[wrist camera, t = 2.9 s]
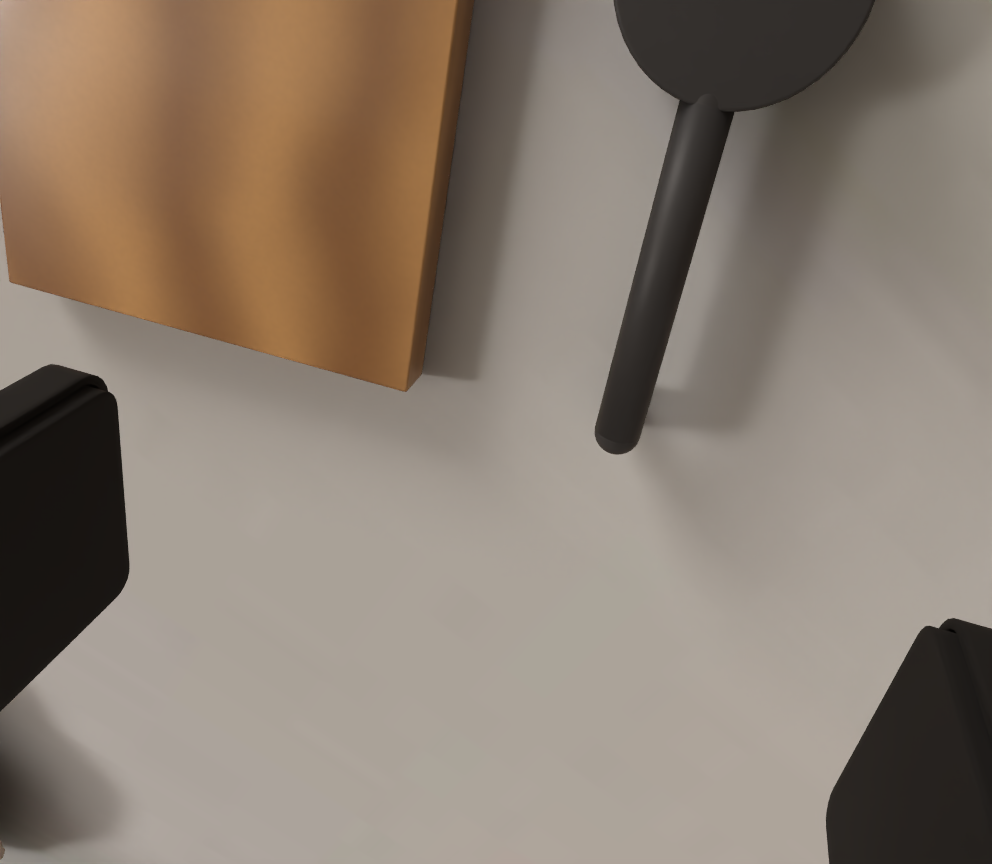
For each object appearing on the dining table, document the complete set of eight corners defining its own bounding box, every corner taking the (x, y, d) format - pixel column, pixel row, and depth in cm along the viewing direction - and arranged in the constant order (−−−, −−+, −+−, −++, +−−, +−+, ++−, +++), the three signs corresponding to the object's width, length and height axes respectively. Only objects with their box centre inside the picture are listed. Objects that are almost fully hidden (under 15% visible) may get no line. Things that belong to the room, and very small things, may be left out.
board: (509, -243, 20) (492, -259, 19) (422, 374, 28) (406, 393, 26) (-17, -327, 22) (-65, -347, 21) (40, 270, 30) (8, 282, 28)
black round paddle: (659, -185, 20) (647, -209, 17) (910, -144, 19) (932, -163, 16) (534, 397, 27) (514, 435, 25) (710, 445, 26) (707, 488, 24)
